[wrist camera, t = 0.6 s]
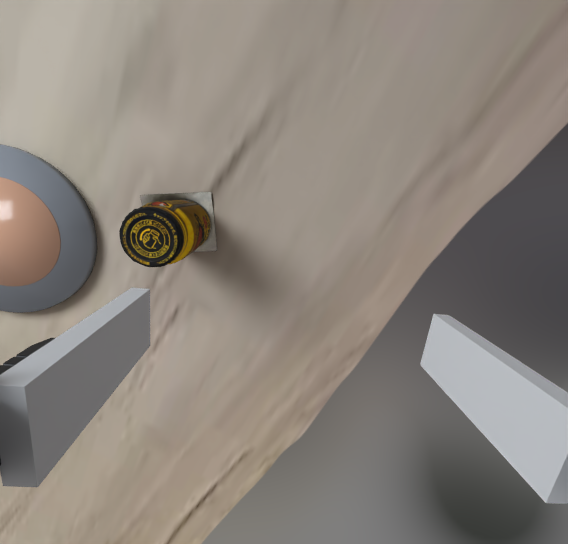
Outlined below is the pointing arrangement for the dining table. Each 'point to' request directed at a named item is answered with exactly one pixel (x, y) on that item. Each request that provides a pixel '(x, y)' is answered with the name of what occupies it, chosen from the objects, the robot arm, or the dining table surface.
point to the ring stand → (41, 234)
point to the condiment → (169, 228)
